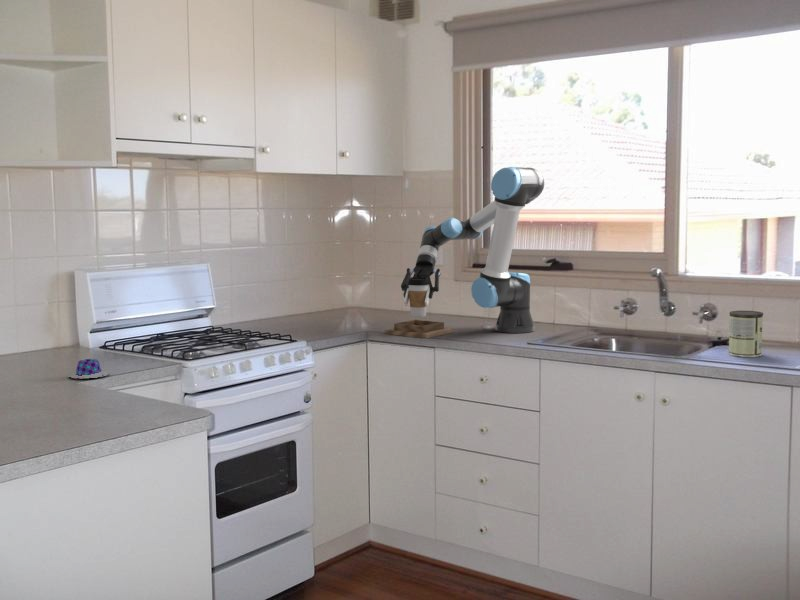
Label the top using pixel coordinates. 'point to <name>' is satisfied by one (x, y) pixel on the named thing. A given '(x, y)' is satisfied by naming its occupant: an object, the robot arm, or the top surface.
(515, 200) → the robot arm
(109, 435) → the top surface
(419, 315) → the coffee cup
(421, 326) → the cup rack
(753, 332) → the coffee can
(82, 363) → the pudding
